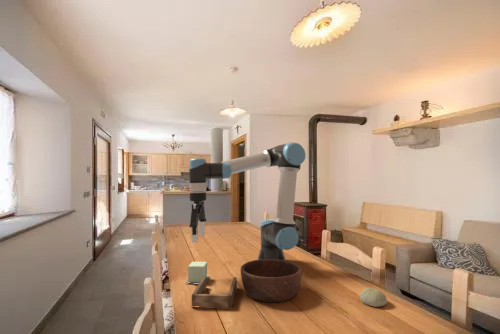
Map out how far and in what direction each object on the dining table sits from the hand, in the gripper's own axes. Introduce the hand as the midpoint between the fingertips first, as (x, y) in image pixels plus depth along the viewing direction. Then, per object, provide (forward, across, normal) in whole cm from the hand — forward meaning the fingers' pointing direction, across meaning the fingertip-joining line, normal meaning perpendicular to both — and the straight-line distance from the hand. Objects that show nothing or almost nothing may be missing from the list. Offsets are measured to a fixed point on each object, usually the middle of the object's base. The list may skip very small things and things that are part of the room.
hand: (198, 238), depth 132 cm
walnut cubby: (+19, +17, +11) cm, 28 cm away
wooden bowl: (+20, +12, +32) cm, 40 cm away
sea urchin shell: (+20, +20, +70) cm, 76 cm away
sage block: (+18, 0, 0) cm, 18 cm away
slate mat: (+19, 0, 0) cm, 19 cm away
